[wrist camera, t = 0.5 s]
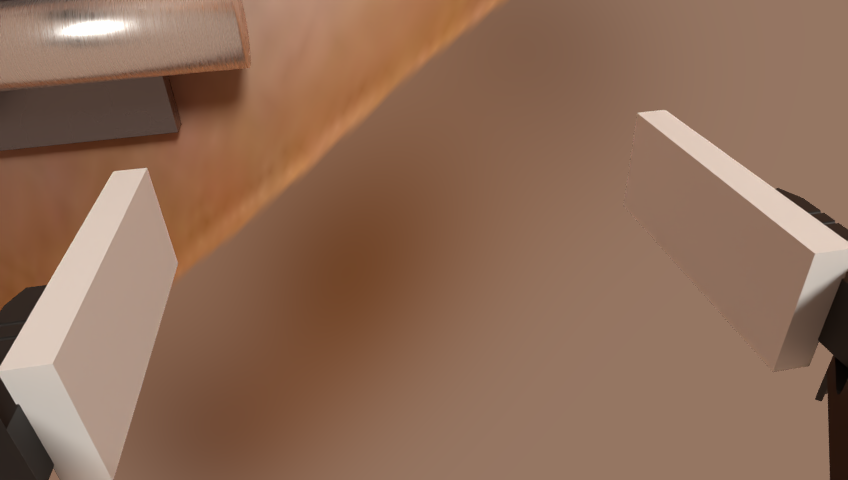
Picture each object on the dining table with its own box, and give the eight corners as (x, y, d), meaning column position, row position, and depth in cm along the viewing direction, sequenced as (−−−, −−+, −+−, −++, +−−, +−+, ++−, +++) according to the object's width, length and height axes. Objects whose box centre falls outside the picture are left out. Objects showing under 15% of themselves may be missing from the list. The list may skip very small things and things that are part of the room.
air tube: (-147, 94, 31) (-205, 126, 28) (-197, 5, 29) (-267, 28, 26) (253, 57, 34) (247, 82, 30) (236, -28, 31) (228, -12, 28)
